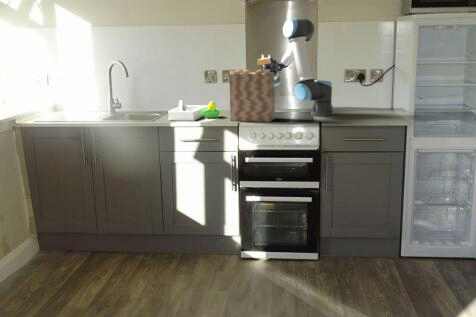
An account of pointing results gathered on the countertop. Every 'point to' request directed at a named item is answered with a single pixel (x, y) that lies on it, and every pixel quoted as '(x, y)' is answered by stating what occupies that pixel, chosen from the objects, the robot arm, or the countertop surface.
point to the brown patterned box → (252, 96)
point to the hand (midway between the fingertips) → (265, 56)
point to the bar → (262, 61)
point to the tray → (187, 113)
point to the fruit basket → (211, 111)
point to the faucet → (182, 105)
